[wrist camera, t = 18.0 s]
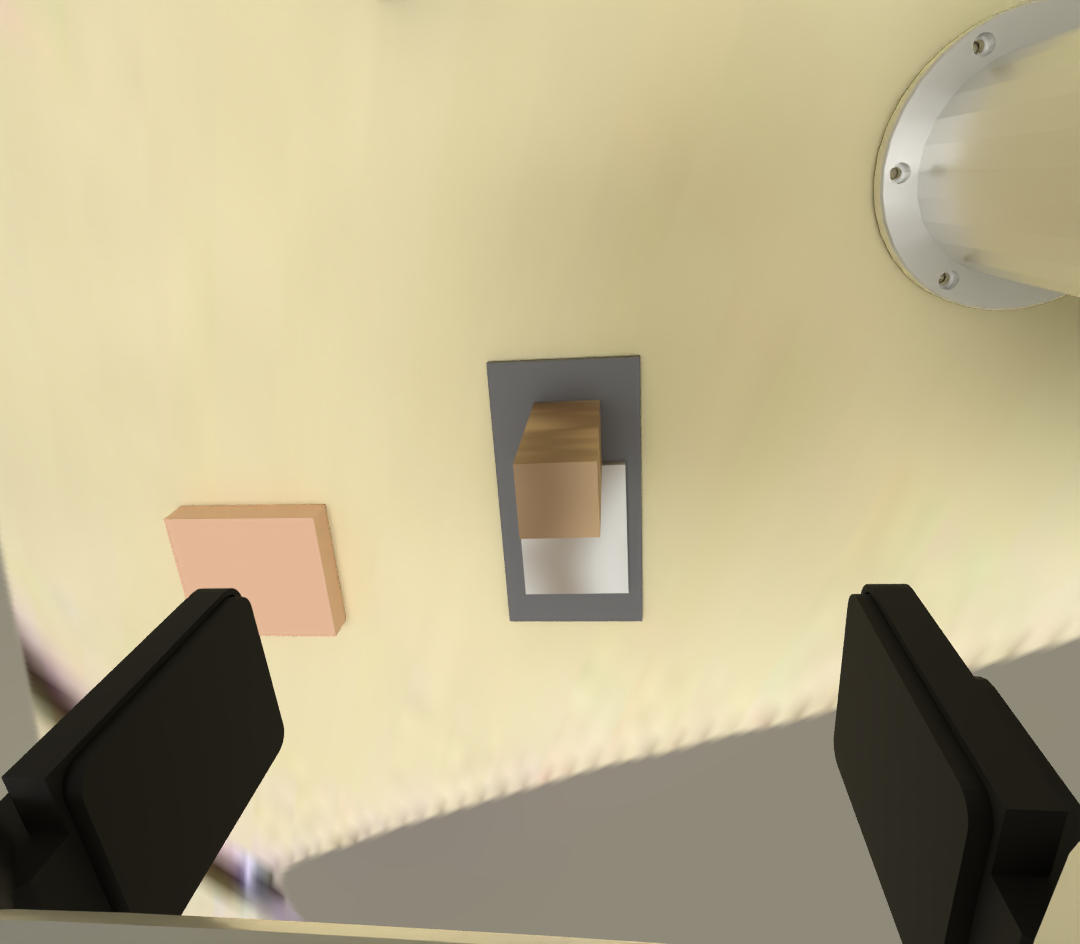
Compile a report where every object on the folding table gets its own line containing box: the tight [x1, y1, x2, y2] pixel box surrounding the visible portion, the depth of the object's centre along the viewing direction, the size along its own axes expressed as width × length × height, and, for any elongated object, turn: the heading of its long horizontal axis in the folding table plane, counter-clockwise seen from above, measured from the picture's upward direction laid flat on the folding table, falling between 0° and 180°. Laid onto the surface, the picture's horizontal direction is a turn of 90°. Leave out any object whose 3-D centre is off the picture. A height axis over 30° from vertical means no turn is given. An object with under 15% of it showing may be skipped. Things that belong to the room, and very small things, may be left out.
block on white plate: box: [513, 400, 629, 594], centre depth 36 cm, size 6×12×9 cm, turn 4°
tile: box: [164, 504, 346, 636], centre depth 43 cm, size 9×2×8 cm
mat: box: [486, 356, 642, 621], centre depth 40 cm, size 8×16×1 cm, turn 4°
